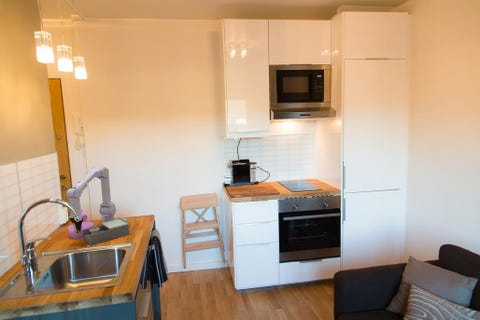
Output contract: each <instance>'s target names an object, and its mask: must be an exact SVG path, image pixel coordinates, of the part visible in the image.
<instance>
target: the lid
mask: <svg viewBox="0 0 480 320" xmlns="http://www.w3.org/2000/svg"><path fill="white" fill-rule="evenodd" d="M101 225H103V226H105V227H107V228H108V229H114V228H118V227H122V226H126V225H130V224H129V221H128V219H126V218H124V217H123V216H121V215H120V216H119V215H118V219H114V220H113V221H109V222H105V223H102V222H101Z"/></svg>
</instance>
